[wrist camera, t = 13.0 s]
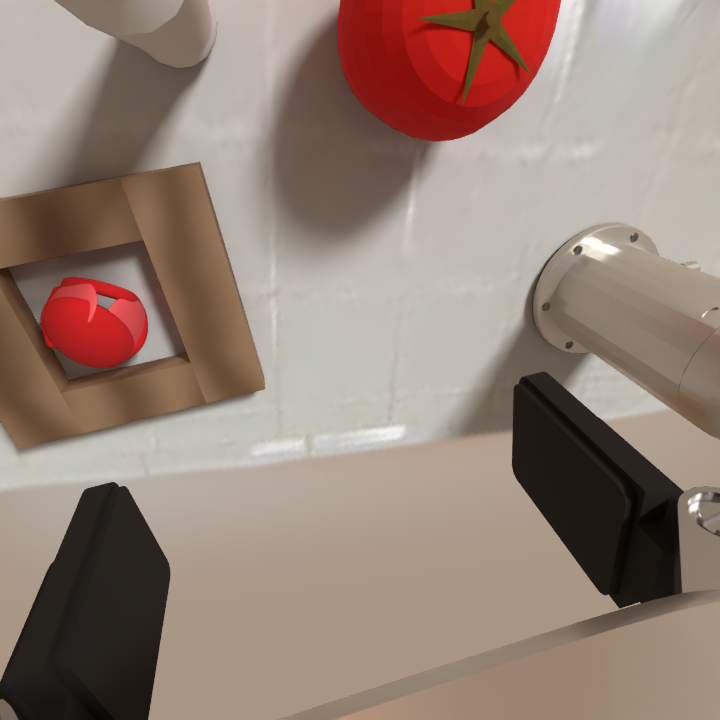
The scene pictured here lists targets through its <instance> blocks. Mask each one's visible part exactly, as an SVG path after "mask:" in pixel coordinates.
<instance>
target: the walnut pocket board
mask: <svg viewBox="0 0 720 720" xmlns="http://www.w3.org/2000/svg"><path fill="white" fill-rule="evenodd" d="M141 240H144V243H145V246H146V248H147V251H148V253H149V256H150V258H151V261H152V264H153V266H154V269H155V271H156V274H157V277H158V279H159V282H160V284H161V287H162V290H163V292H164V295H165V297H166V300H167V303H168V305H169V308H170V310H171V313H172V316H173V318H174V321H175V323H176V326H177V328H178V331H179V334H180V336H181V339H182V341H183V344H184V347H185V349H186V352H187V353H185V354H181V355H176V356H172V357H168V358H163V359H159V360H155V361H150V362H146V363H142V364H137V365H133V366H129V367H124V368H120V369H115V370H111V371H107V372H102V373H98V374H94V375H89V376H85V377H81V378H76V379H72V380H69V379H68V377H67V376H66V374H65V372H64V370H63V368H62V367H61V365H60V363H59V361H58V359H57V357H56V356H55V354H54V352H53V350H52V348H50V347H49V346H48V345H47V344H46V341H45V338H44V335H43V332H42V330H41V328H40V327H39V325H38V323H37V321H36V319H35V318H34V316H33V314H32V312H31V310H30V308H29V307H28V305H27V303H26V301H25V299H24V298H23V296H22V294H21V292H20V290H19V288H18V287H17V285H16V283H15V281H14V279H13V278H12V276H11V274H10V272H9V270H8V269H7V267H10V266H15V265H20V264H25V263H30V262H35V261H40V260H46V259H51V258H56V257H61V256H66V255H71V254H76V253H81V252H86V251H91V250H96V249H101V248H106V247H111V246H116V245H121V244H126V243H131V242H136V241H141ZM264 389H265V381H264V375H263V372H262V368H261V365H260V361H259V358H258V355H257V351H256V348H255V345H254V341H253V338H252V335H251V331H250V328H249V325H248V321H247V318H246V315H245V311H244V308H243V305H242V301H241V298H240V295H239V291H238V288H237V284H236V281H235V278H234V274H233V271H232V268H231V264H230V261H229V258H228V254H227V251H226V248H225V244H224V241H223V238H222V234H221V231H220V228H219V224H218V221H217V217H216V214H215V211H214V207H213V204H212V201H211V197H210V194H209V191H208V187H207V184H206V181H205V177H204V174H203V171H202V167H201V164H200V162H198V163H192V164H187V165H181V166H176V167H170V168H165V169H159V170H154V171H148V172H143V173H138V174H132V175H127V176H121V177H116V178H110V179H105V180H99V181H94V182H88V183H83V184H78V185H72V186H67V187H61V188H56V189H50V190H45V191H39V192H34V193H29V194H23V195H18V196H12V197H7V198H1V199H0V421H1V422H2V424H3V425H4V427H5V428H6V430H7V431H8V433H9V434H10V436H11V437H12V439H13V440H14V442H15V443H16V445H17V446H18V448H19V449H21V448H25V447H29V446H33V445H37V444H41V443H45V442H49V441H53V440H58V439H62V438H66V437H70V436H74V435H78V434H82V433H86V432H91V431H95V430H99V429H103V428H107V427H111V426H115V425H119V424H124V423H128V422H132V421H136V420H140V419H144V418H148V417H152V416H156V415H161V414H165V413H169V412H173V411H177V410H181V409H185V408H189V407H194V406H198V405H202V404H206V403H210V402H214V401H218V400H222V399H227V398H231V397H235V396H239V395H243V394H247V393H251V392H255V391H260V390H264Z"/></svg>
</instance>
